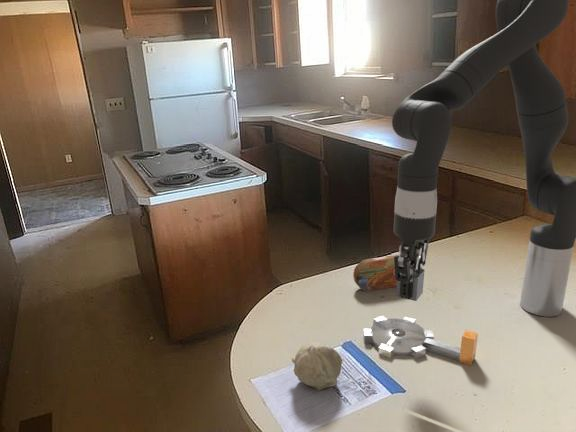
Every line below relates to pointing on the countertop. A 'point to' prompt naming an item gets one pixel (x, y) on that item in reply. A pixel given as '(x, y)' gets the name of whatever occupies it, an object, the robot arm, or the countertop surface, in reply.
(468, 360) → the drive pin
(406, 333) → the sprocket
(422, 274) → the grey cube with slot
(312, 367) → the garlic bulb
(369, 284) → the tin
